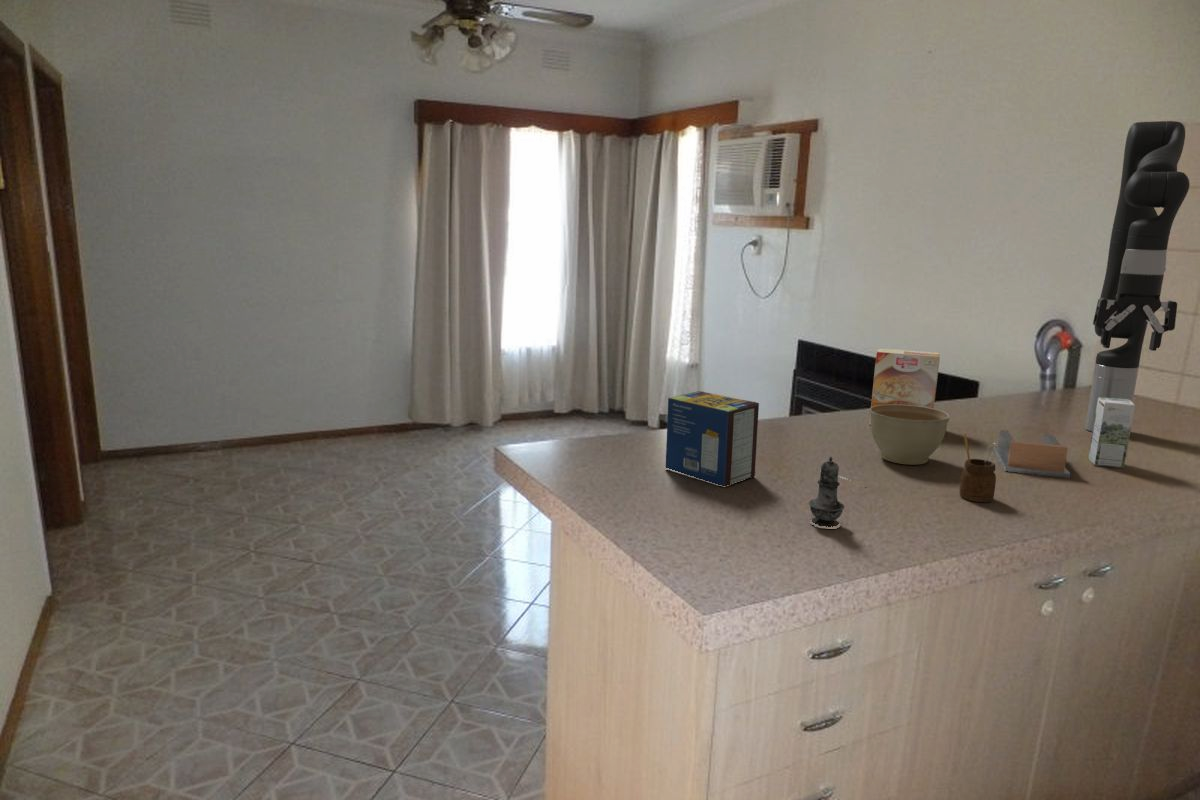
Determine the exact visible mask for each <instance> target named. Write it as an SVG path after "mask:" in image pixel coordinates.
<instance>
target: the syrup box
mask: <svg viewBox="0 0 1200 800" xmlns="http://www.w3.org/2000/svg"><path fill="white" fill-rule="evenodd" d="M1135 409H1136V405H1135V403H1134V402H1133V403H1132V402H1131V401H1130V400H1127V399H1115V398H1102V397H1099V398H1098V402H1097V408H1096V414H1095V420H1094V426H1093V432H1092V431H1091V432H1092V433H1091V438H1090V439H1091V440H1090V445H1089V449H1088V455H1087V456H1088V457H1087V458H1088V461H1090V462H1091V463H1092V464H1093V466H1095V467H1096V466H1097V467H1105V466H1106V468H1114V467H1115V469H1116V468H1117V469H1124V468H1125V465H1126V464H1125V463H1126V457H1127V454H1128V453H1127V452H1128V447H1129V442H1130V435H1131V432H1132V425H1133V421H1134V417H1135V416H1134V415H1135V411H1136V410H1135Z"/></svg>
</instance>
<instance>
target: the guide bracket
mask: <svg viewBox="0 0 1200 800" xmlns="http://www.w3.org/2000/svg"><path fill="white" fill-rule="evenodd" d="M998 438H999V439H998V444H997V445H995V444H993V449H994V450H993V452H994V454H995V455H997V456H996V458H998V459H997V460H999V463H1000V462H1001V463H1000V464H1002V465H1001V466H1002V469H1003V470H1004V472H1006V471H1008V472H1007V473H1015V472H1017V473H1016V474H1025V473H1026V474H1027V475H1034V474H1037V475H1036V476H1043V475H1045V477H1056V478H1062V477H1063V479H1070V478H1071V473H1070V471H1069V470H1068V469H1067V468H1066V464H1067V463H1066V462H1067V457H1068V456H1067V455H1068V450H1069V447H1068V446H1067V445H1061V443H1060V442H1059V441H1058V440H1057V439H1056V437H1055V436H1054V435H1053V434H1049V433H1044V434H1043V440H1042V443H1039V442H1031V441H1030V442H1028V441H1019V440H1018V441H1016V440H1015V439H1014V438H1013V436H1012V435H1011V433H1010V432H1009V431H1008V430H1006V429H1000V431H999V437H998ZM994 446H995V448H994ZM997 446H999V447H1000V448H999V447H997ZM998 450H999V451H998ZM997 452H998V454H997ZM999 453H1000V454H999ZM998 456H999V457H998Z"/></svg>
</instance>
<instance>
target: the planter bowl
mask: <svg viewBox="0 0 1200 800" xmlns="http://www.w3.org/2000/svg"><path fill="white" fill-rule="evenodd" d="M869 414H870V415H871V418H870V417H869V422H870V424H871V426H870V430H871V434H872V438H873V440H874V442H875V444H876V446H877V447H878V449H879V451H880V456H881V458H882V459H883V460H885V461H888V462H891V463H894V464H897V463H898V464H901V465H910V466H912V465H913V466H914V465H915V466H917V465H924V464H926V463H928V460H929V458H930V457H931V455H932V454H933V453H934V452H936V450H937V449H938V448H939V446H940V445H941V443H942V441H943V440H944V437H945V435H946V432H947V426H948V422H949V420H950V415H949V414H948V413H947V412H945V411H942V410H939V409H935V408H934V409H932V408H927V407H920V406H911V405H877V406H873V407H871V406H870V409H869ZM870 415H869V416H870Z"/></svg>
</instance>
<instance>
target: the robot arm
mask: <svg viewBox="0 0 1200 800" xmlns="http://www.w3.org/2000/svg"><path fill="white" fill-rule="evenodd" d="M1185 141H1186V128H1185V125H1184V124H1183V123H1182V122H1180V121H1176V120H1175V121H1174V120H1167V121H1166V120H1163V121H1162V120H1161V121H1159V120H1158V121H1137V122H1135V123H1132V125H1130V128H1129V129H1128V132H1127V135H1126V139H1125V146H1124V151H1123V152H1124V154H1123V161H1122V171H1121V181H1120V188H1119V194H1118V199H1117V200H1118V201H1117V204H1116V205H1117V206H1116V210H1115V215H1114V219H1113V225H1112V230H1111V234H1110V240H1109V247H1108V248H1109V249H1108V257H1107V263H1106V264H1107V265H1106V269H1105V275H1104V280H1103V284H1102V289H1101V292H1100V293H1101V294H1100V297H1099V298H1098V300H1097V304H1096V307H1095V312H1094V317H1093V322H1092V324H1093V326H1094V332H1095V335H1096V336H1097V337H1100V342H1099V343H1100V345H1101V346H1102V348H1103V349H1104V348H1105V349H1106V350H1102V351H1099V352H1098V353H1097V354H1096V356H1095V363H1094V369H1093V376H1092V382H1091V388H1090V395H1089V399H1088V400H1089V402H1088V405H1087V407H1088V408H1087V414H1086V420H1085V424H1084V427H1085V428H1084V429H1085V430H1087V431H1089V432H1093V426H1094V420H1095V414H1096V408H1097V402H1098V398H1099V397H1102V398H1115V399H1127V400H1130V401H1131V402H1132V403H1133V404H1134V396H1135V390H1136V386H1137V380H1138V374H1139V367H1140V361H1141V355H1142V350H1143V345H1144V340H1145V335H1146V332H1147V328H1148V324H1149V326H1150V327H1151V328H1152V330H1153V331H1151V334H1150V340H1149V345H1148V348H1149V349H1148V350H1150V351H1151V352H1152V351H1154V352H1155V351H1157V349H1159V348H1160V347H1161V345H1162V344H1161V343H1162V338H1163V334H1164V333H1165V332H1168V331H1174V330H1175V328H1176V321H1177V309H1178V303H1177V302H1176V301H1174V300H1168V301H1161V293H1162V288H1163V281H1164V275H1165V272H1166V265H1167V252H1168V247H1169V246H1168V244H1169V239H1170V235H1171V229H1172V226H1173V223H1174V221H1175V218H1176V216H1177V214H1178V212H1179V210H1180V208H1181V206H1182V205H1183V202H1184V200H1185V198H1187V196H1188V195H1187V194H1188V192H1189V190H1190V180H1189V177H1188V176H1187V174H1186V173H1185V172H1182V171H1178V164H1179V161H1180V159H1181V156H1182V153H1183V150H1184V146H1185ZM1155 208H1157V209H1158V208H1162V209H1163V210H1162V211H1161V212H1160V214H1158V212H1157V211H1156V209H1155ZM1160 308H1162V311H1163V312H1164V313H1165V314H1164V322H1163V324H1161V323H1160V321H1159V319H1158V317H1157V315H1155V313H1156V312H1157V311H1158V310H1159V309H1160ZM1112 339H1123V340H1124V339H1125V340H1126V339H1127V341H1126V342H1125V343H1123V344H1122V345H1120V346H1118V347H1116V348H1115V347H1114V348H1112V349H1110V347H1111V341H1112Z"/></svg>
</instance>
